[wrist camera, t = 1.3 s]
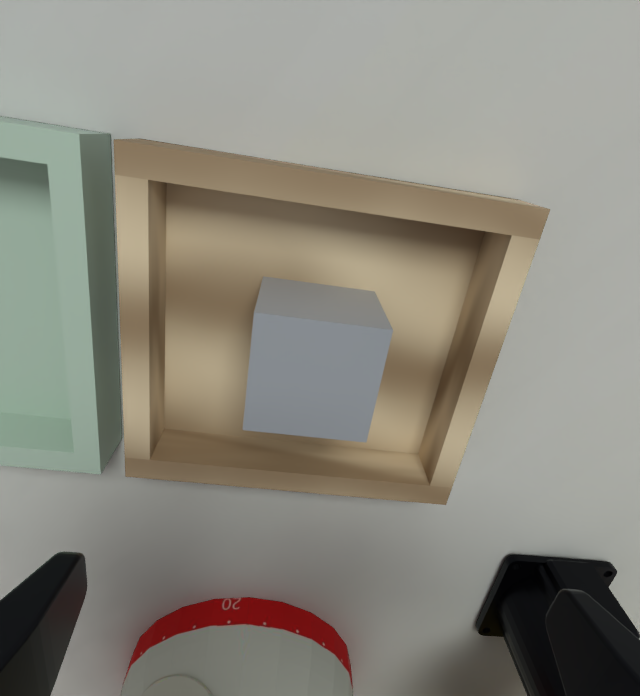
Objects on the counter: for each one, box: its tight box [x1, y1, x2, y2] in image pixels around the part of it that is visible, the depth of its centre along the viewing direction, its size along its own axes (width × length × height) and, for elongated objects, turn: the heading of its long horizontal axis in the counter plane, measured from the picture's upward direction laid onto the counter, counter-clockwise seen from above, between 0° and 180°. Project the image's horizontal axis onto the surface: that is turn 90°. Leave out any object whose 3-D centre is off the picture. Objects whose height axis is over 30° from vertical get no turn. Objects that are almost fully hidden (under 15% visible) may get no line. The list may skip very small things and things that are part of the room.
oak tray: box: [114, 139, 550, 505], centre depth 18 cm, size 13×14×2 cm
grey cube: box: [243, 276, 393, 442], centre depth 17 cm, size 4×4×4 cm
